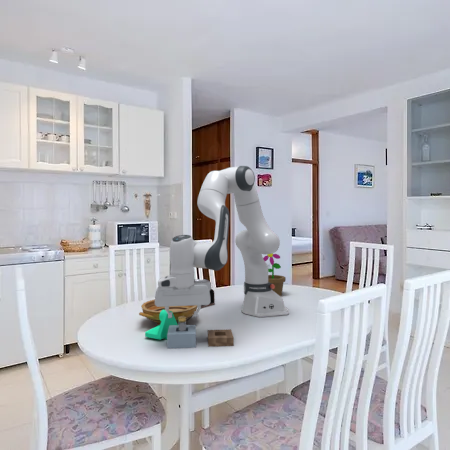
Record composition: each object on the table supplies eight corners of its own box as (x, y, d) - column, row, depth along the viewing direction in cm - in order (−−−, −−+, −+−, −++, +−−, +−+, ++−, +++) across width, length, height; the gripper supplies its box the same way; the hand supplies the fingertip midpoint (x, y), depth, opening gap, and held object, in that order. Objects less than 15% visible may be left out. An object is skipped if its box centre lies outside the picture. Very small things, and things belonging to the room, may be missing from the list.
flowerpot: (255, 295, 207) (256, 242, 206) (266, 291, 220) (267, 240, 218) (279, 299, 200) (279, 244, 198) (289, 293, 212) (289, 242, 211)
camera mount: (162, 329, 150) (162, 304, 150) (178, 332, 147) (178, 307, 146) (143, 339, 139) (143, 312, 139) (160, 342, 136) (160, 315, 135)
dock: (195, 337, 140) (195, 324, 140) (195, 347, 130) (195, 333, 130) (169, 338, 140) (169, 325, 139) (167, 348, 130) (167, 334, 129)
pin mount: (231, 337, 141) (231, 329, 141) (233, 345, 132) (233, 337, 132) (207, 337, 140) (207, 330, 140) (208, 346, 131) (208, 338, 131)
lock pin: (186, 341, 136) (186, 316, 136) (186, 344, 134) (185, 318, 133) (178, 341, 136) (178, 316, 136) (178, 344, 133) (178, 318, 133)
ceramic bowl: (159, 337, 140) (158, 317, 140) (124, 324, 157) (124, 305, 157) (214, 320, 162) (214, 302, 161) (178, 310, 178) (178, 293, 178)
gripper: (210, 277, 138) (211, 313, 139) (155, 279, 136) (156, 315, 137) (211, 280, 132) (212, 318, 132) (153, 282, 130) (154, 321, 131)
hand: (183, 317), depth 135 cm, fingers open, 8 cm apart
